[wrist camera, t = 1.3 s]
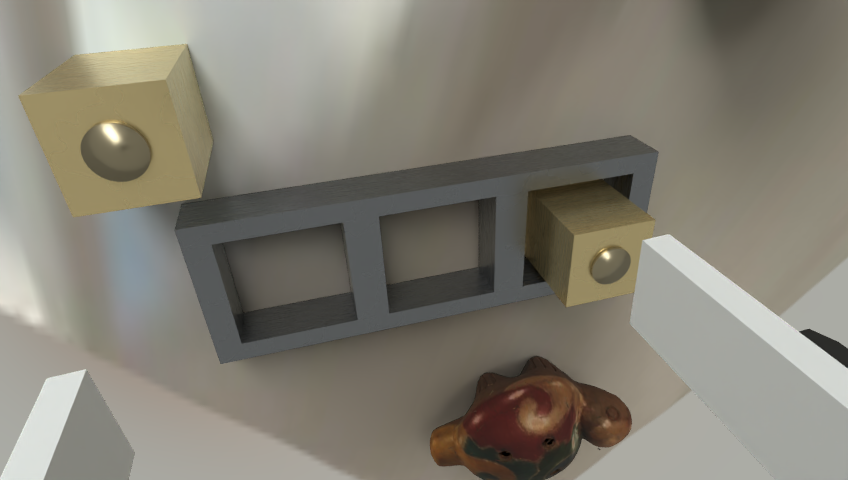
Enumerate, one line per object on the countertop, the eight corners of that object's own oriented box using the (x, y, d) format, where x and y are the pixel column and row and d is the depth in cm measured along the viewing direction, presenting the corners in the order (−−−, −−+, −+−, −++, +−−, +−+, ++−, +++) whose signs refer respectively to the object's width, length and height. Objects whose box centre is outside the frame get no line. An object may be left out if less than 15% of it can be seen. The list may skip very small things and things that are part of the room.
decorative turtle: (599, 382, 48) (648, 463, 41) (442, 445, 48) (466, 535, 42) (583, 311, 42) (637, 393, 35) (404, 384, 42) (425, 477, 36)
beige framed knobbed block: (522, 182, 35) (576, 237, 29) (591, 171, 36) (658, 222, 30) (518, 247, 37) (568, 309, 31) (583, 234, 38) (643, 293, 32)
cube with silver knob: (74, 54, 25) (15, 97, 19) (187, 43, 26) (164, 81, 20) (112, 154, 28) (71, 220, 22) (213, 141, 29) (200, 200, 23)
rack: (181, 204, 30) (174, 230, 27) (630, 135, 35) (658, 151, 33) (223, 332, 35) (220, 364, 32) (611, 254, 40) (634, 276, 38)
